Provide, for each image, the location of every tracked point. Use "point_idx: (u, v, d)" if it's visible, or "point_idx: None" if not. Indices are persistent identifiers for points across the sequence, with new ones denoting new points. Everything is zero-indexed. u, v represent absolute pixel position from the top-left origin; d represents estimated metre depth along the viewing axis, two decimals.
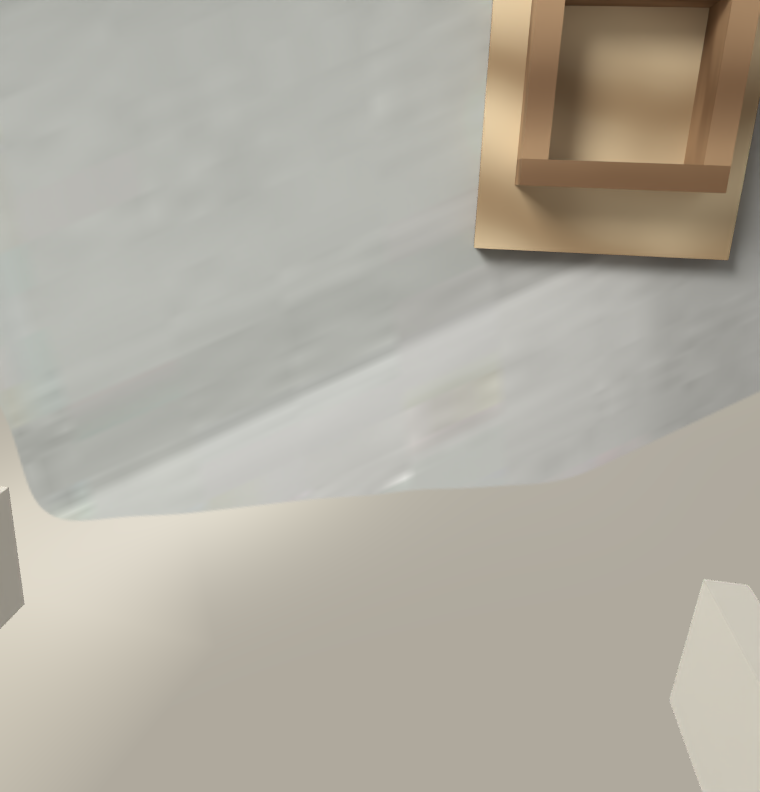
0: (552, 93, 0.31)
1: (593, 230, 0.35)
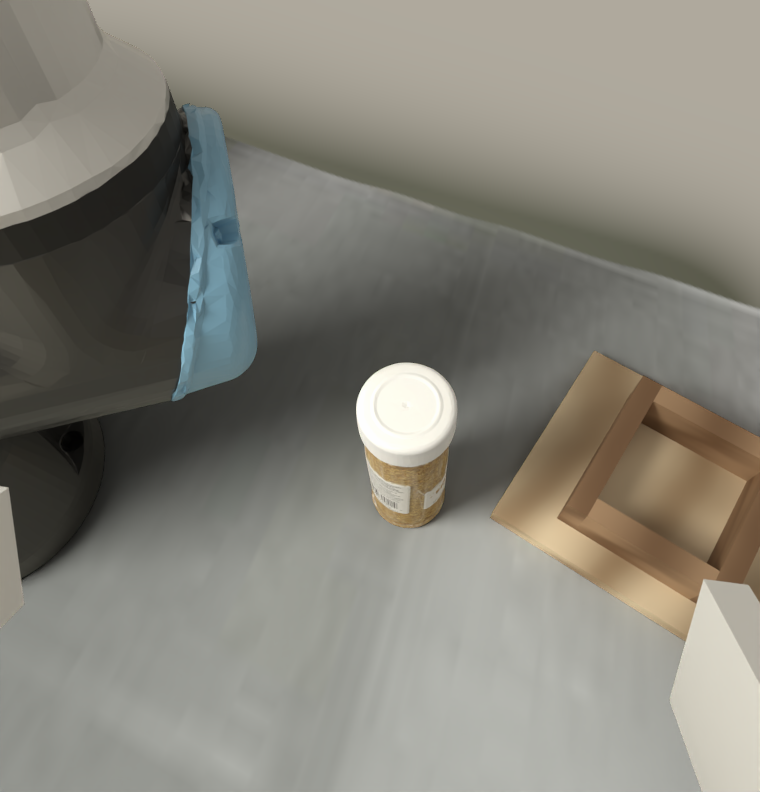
0: (668, 542, 0.36)
1: None
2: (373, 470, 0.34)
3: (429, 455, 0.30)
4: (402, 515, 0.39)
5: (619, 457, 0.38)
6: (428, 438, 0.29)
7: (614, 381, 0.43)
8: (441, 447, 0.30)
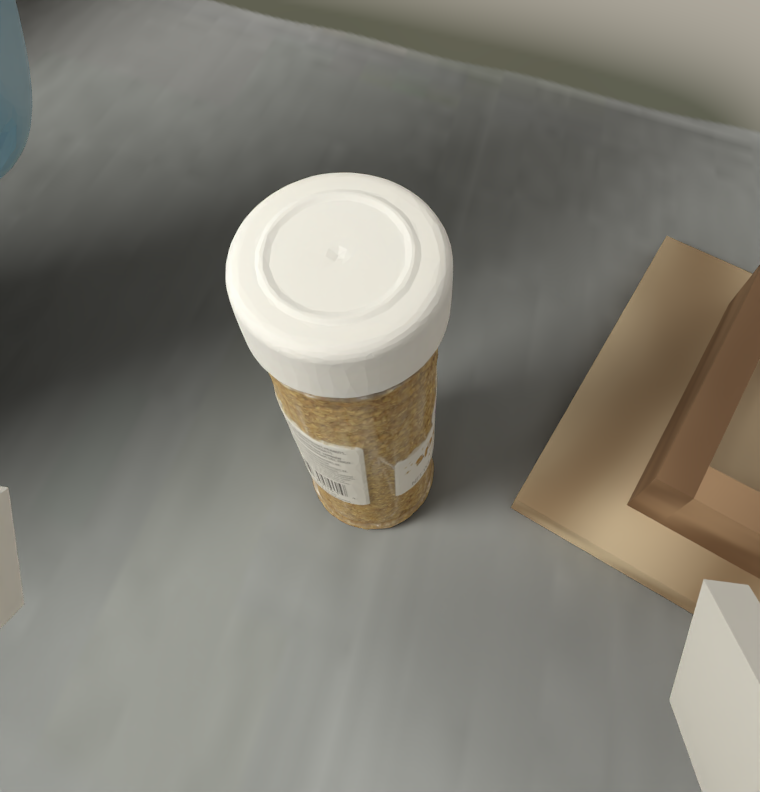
0: None
1: None
2: (289, 420, 0.17)
3: (392, 367, 0.13)
4: (359, 508, 0.22)
5: (740, 393, 0.22)
6: (388, 323, 0.13)
7: (703, 281, 0.27)
8: (419, 348, 0.13)
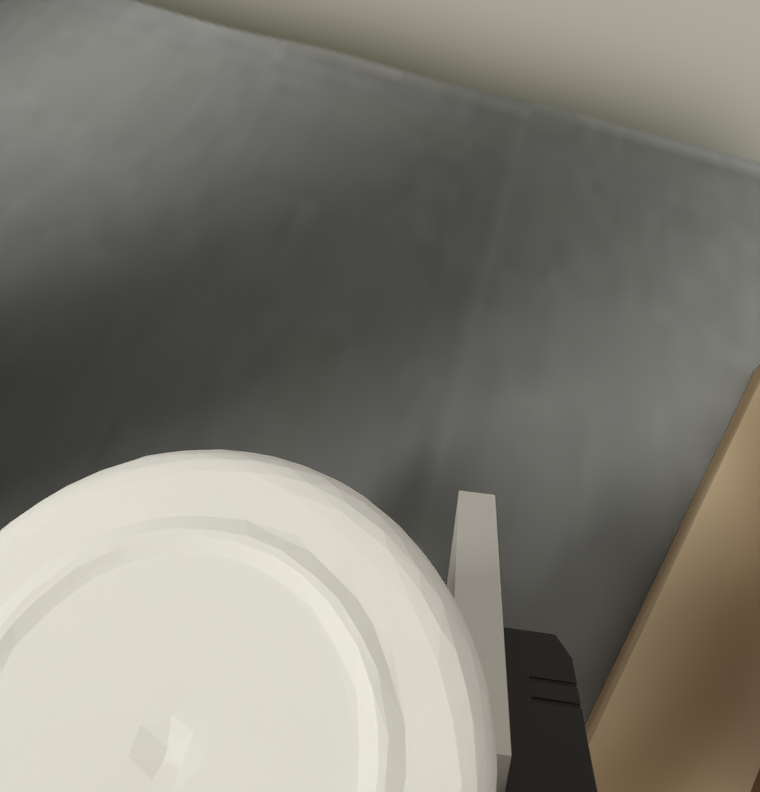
0: None
1: None
2: None
3: None
4: None
5: None
6: None
7: None
8: None
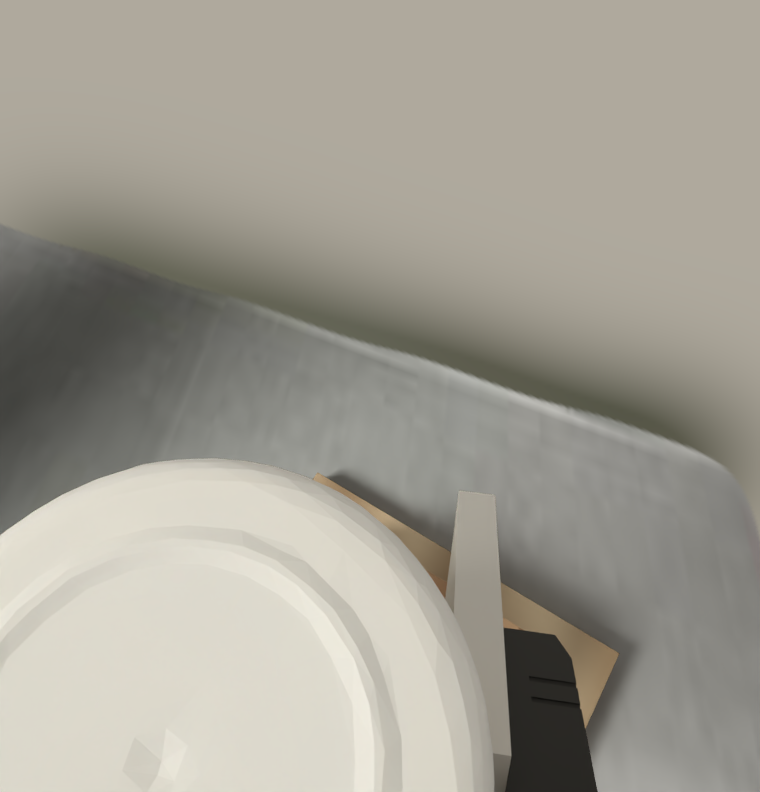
0: None
1: None
2: None
3: None
4: None
5: None
6: None
7: None
8: None
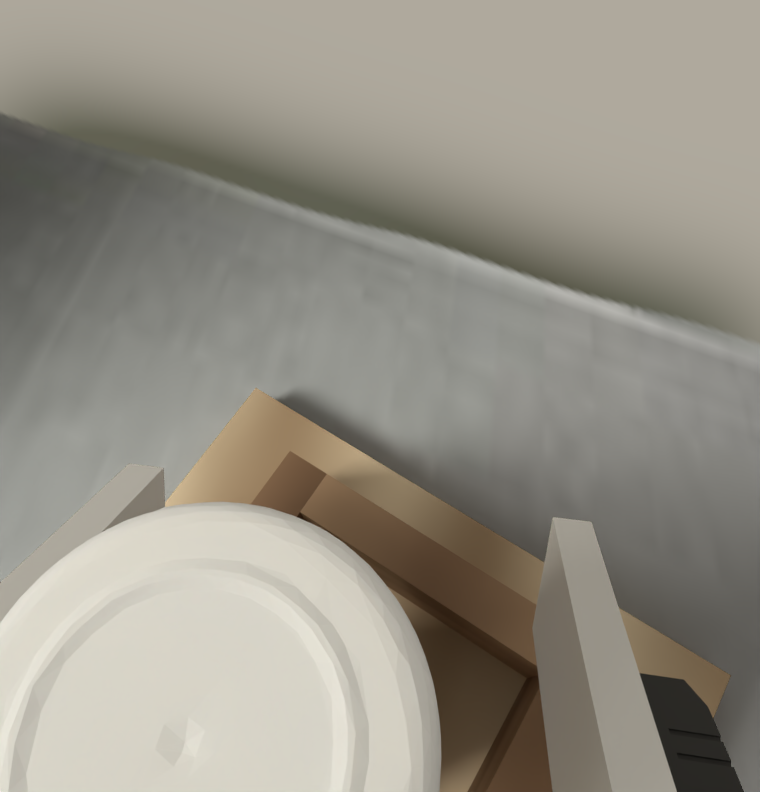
0: None
1: None
2: None
3: None
4: None
5: None
6: None
7: (283, 452, 0.21)
8: None
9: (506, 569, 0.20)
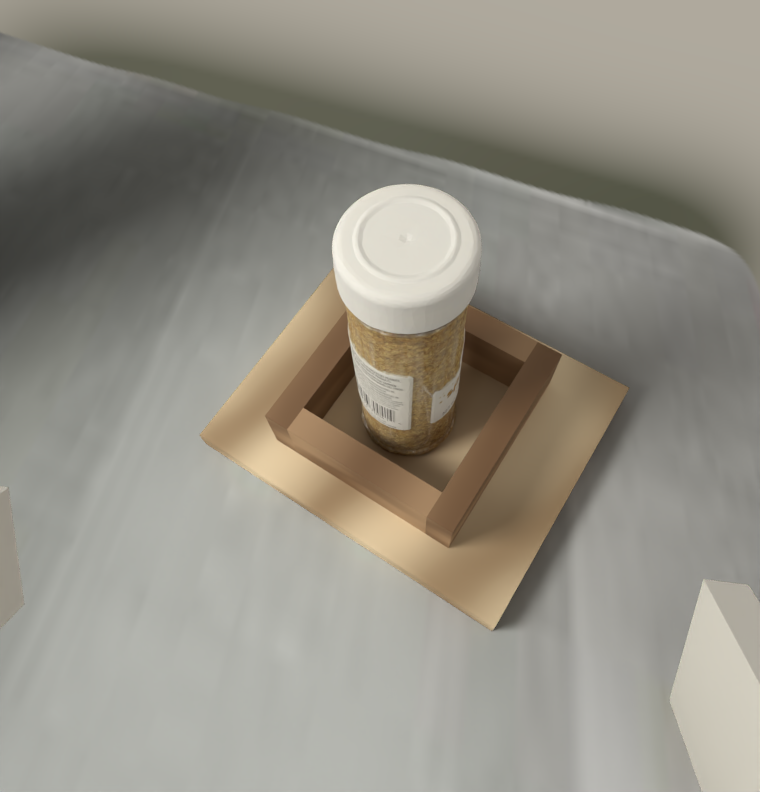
0: (382, 459, 0.28)
1: (538, 494, 0.31)
2: (360, 357, 0.24)
3: (441, 312, 0.20)
4: (401, 434, 0.29)
5: (338, 358, 0.30)
6: (441, 282, 0.20)
7: None
8: (459, 300, 0.20)
9: None
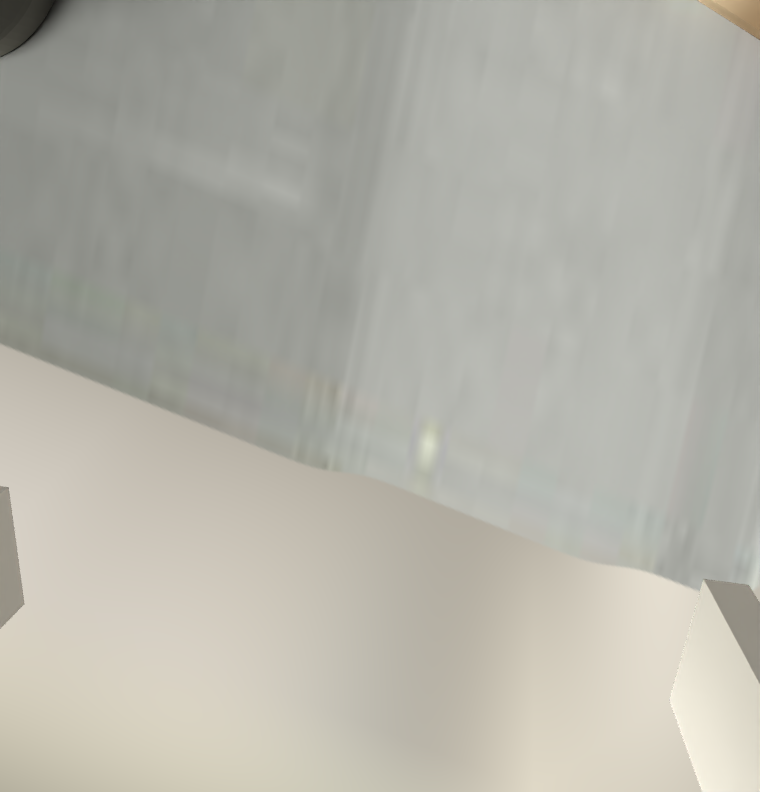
0: None
1: None
2: None
3: None
4: None
5: None
6: None
7: None
8: None
9: None
